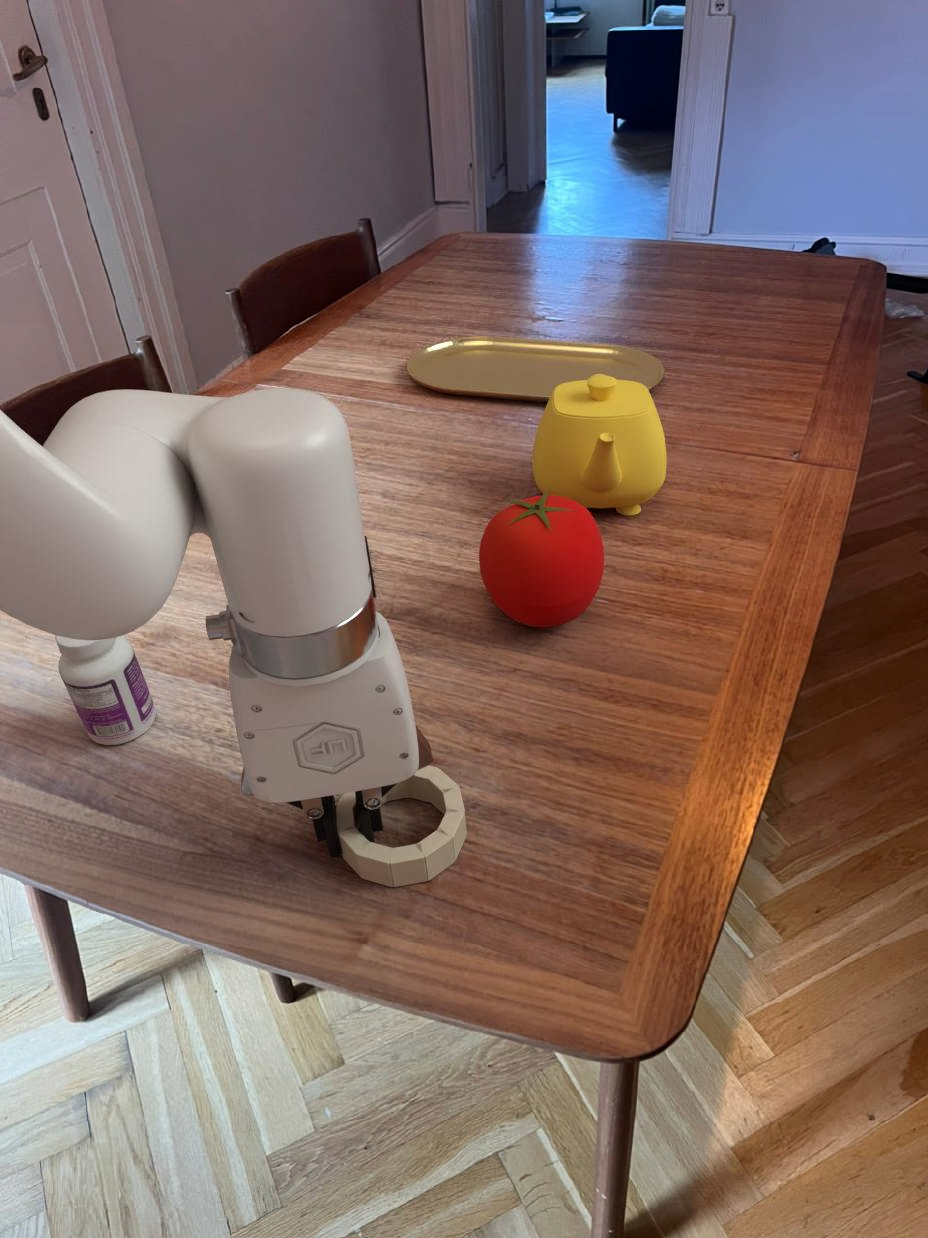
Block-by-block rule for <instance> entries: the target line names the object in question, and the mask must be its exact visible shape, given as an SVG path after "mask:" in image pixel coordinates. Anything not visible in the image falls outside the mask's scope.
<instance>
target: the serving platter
mask: <svg viewBox="0 0 928 1238" xmlns="http://www.w3.org/2000/svg"><path fill="white" fill-rule="evenodd" d="M662 363H663V362H662V361H660V360H659V359H658V358H656V357H655V356H654V355H652V354H650V353H648V352H646V351H643V350H641V349H637V348H635V347H634V348H633V347H631V346H625V345H619V344H612V343H611V344H609V343H597V342H582V341H567V340H566V341H565V340H553V339H552V340H550V339H536V338H521V337H506V336H495V335H494V336H493V335H492V336H490V335H488V336H487V335H477V336H465V337H464V336H463V337H457V338H450V339H446V340H443V341H439V342H438V341H437V342H436V343H435V342H434V343H433V344H429V345H428V346H425V347H423V348H420V349H419V350H417V351H416V352H415V353H414V354H412V355H411V356H410V357H409V359H408V360H407V363H406V370H407V373H408V374H409V377H411V379H412V380H413V381H415V382H416V383H417V384H419V385H420V386H422V387H424V388H425V389H428V390H432V391H435V392H438V393H442V394H448V395H456V396H469V397H479V398H491V399H499V400H513V401H523V402H524V401H525V402H535V403H536V402H537V403H548V401H549V399H550V397H551V395H552V393H553V391H554V389H555V388H556V387H557V386H558V385H560V384H563V383H567V382H572V381H580V380H588V379H589V378H591V376H593V375H595V374H603V375H606V376H611V377H613V378H615V379H616V380H627V381H634V382H638V383H641V384H643V385H644V386H646V387H647V389H648V390H649V393H650V392H651V391H653V390H655V389H656V388H657V387H658V386H659V385H660V383H661V382H662V381H663V380H664V378H665V377H664V376H665V367H664V365H663V364H662Z"/></svg>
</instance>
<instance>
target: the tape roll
mask: <svg viewBox="0 0 928 1238" xmlns="http://www.w3.org/2000/svg"><path fill="white" fill-rule="evenodd" d="M407 798H409V799H410V798H411V799H415V800H419V801H422V802H426V803H429V804H432V805H433V807H435V808H436V809H437V810H438V811H439V812H441V813H442V815H443V817H442V819H441V821H440V823H439V825H438V827H437V829H436V830H434V831H433V832H431V833H430V834H429V835H427V836H426V837H424V838H423V839H421V840H420V841H418V842H417V843H413V844H406V845H402V846H395V847H390V846H387V845H383V844H380V843H377V842H374V843H373V842H369V841H368V840H367V839H366V838H365V837H364V836H363V835H362V834H361V831H360V826H359V821H358V816H357V807H356V797H355V792H349V793H343V794H341V797H340V798H339V800H338V802H337V803H336V819H337V833H338V838H339V842H340V847H341V851H342V855H341V856H342V859H344V861H345V862H346V863H347V864H348V866H350V867H351V868H352V870H353V871H354V872H355V873H356V874H357V876H359V877H360V878H361V879H362V880H365V881H369V882H372V883H376V884H379V885H383V886H387V887H390V888H398V887H404V886H409V885H415V884H420V883H421V884H422V883H426V882H429V881H431V880H432V879H434V878H435V877H437V876H438V875H439V874H441V873H442V872H444V871H445V870H446V869H448V868H449V867H450V866H451V865H453V864H454V863H455V862H456V861H457V859H458V857H459V854H460V852H461V850H462V847H463V845H464V843H465V842H466V839H467V837H468V832H467V820H466V819H467V818H466V809H465V804H464V800H463V796H462V791H461V788H460V785H459V784H457V783H456V782H455V781H454V780H453V779H452V778H451V777H450V776H449V775H447V774H446V773H445V772H443V770H441V768H439V767H438V766H433V765H429V766H427V767H424V768H422V769H420V770H418V771H417V772H416V773H415V774H414V775H413V776H411V777H410V778H408V779H406V780H404V781H402V782H399V783H397V784H396V785H395V786H394V787H393V788H392V789H391V790H390V791H389V792H388V793H386V794H385V795H384V796H383V797H382V801H383V803H382V805H383V804H385V803H386V802H390V801H396V800H402V799H407Z"/></svg>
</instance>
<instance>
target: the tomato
mask: <svg viewBox="0 0 928 1238" xmlns="http://www.w3.org/2000/svg"><path fill="white" fill-rule="evenodd" d="M548 492H549V490H548V491H547V492H546V493H545V494H544V495H543V494H542V495H535V496H531V497H528V498H525V499H521V500H516V499H510V498H504V499H506V500H507V501H509V502H512V503H513V504H511V505H509V506H507V507H505V508H503V509H501V510H499V511H498V512H497V513H495V514H494V515H493V517H492V518H491V519H490V520H489V522H488V523H487V525H486V527H485V529H484V531H483V533H482V536H481V539H480V543H479V548H478V562H479V572H480V576H481V580H482V582H483V585H484V588H485V590H486V592H487V593H488V595H489V597H490V598H491V600H492V601H493V603H494V604H495V606H496V607H498V609H500V610H501V611H502V612H503V613H504V614H505V615H506V616H508V617H509V618H510V619H512V620H514V621H516V622H518V623H519V624H523V625H526V626H528V627H529V626H530V627H534V628H552V627H553V628H554V627H557V626H561V625H563V624H566V623H569V622H572V621H574V620H575V619H577V618H578V617H580V616H581V615H582V614H583V613H584V612H585V611H587V609H588V608H589V606H590V605H591V604H592V602H593V600H594V598H595V596H596V595H597V593H598V590H599V588H600V585H601V583H602V579H603V574H604V568H605V549H604V543H603V538H602V535H601V532H600V529H599V527H598V524H597V522H596V520H595V518H594V517H593V515H592V513H591V512H590V511H589V510H588V508H585V507H584V506H582V505H581V504H579V503H577V502H576V501H574V500H572V499H569V498H566V497H561V496H555V495H548Z"/></svg>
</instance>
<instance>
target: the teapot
mask: <svg viewBox="0 0 928 1238" xmlns="http://www.w3.org/2000/svg"><path fill="white" fill-rule="evenodd" d="M667 462H668V459H667V446H666V437H665V432H664V428H663V425H662V421H661V418H660V415H659V413H658V410H657V407H656V405H655V401H654V399H653V397H652V395H651V393H650V392H649V390H648V389H647V387H646V386H644V385H643V384H641V383H638V382H634V381H627V380H616V379H615V378H613V377H611V376H606V375H603V374H595V375H593V376H591V378H589V379H588V380H580V381H572V382H567V383H563V384H560V385H558V386H557V387H556V388H555V389H554V391H553V393H552V395H551V397H550V399H549V401H548V403H547V404H546V405H545V408H544V410H543V413H542V415H541V418H540V420H539V423H538V426H537V429H536V433H535V438H534V444H533V449H532V462H531V463H532V464H531V465H532V466H531V467H532V474H533V478H534V481H535V484H536V486H537V487H538V489H539V491H540V492H541V494H542V495H544V494H545V493H546V492H547V491H548V490H549V492H548V495H555V496H561V497H566V498H569V499H572V500H574V501H576V502H577V503H579V504H581V505H582V506H584V507H585V508H586V509H612V508H613V509H614V508H615V510H616V512H617V513H619V514H620V515H623V516H635V515H638V514H640V513H641V511H642V508H641V504H644V503H646V502H649V501H650V500H651V499H653V498H654V496H656V495H657V493H658V492H659V491H660V489H661V487H663V485H664V482H665V480H666V475H667V464H668V463H667Z"/></svg>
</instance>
